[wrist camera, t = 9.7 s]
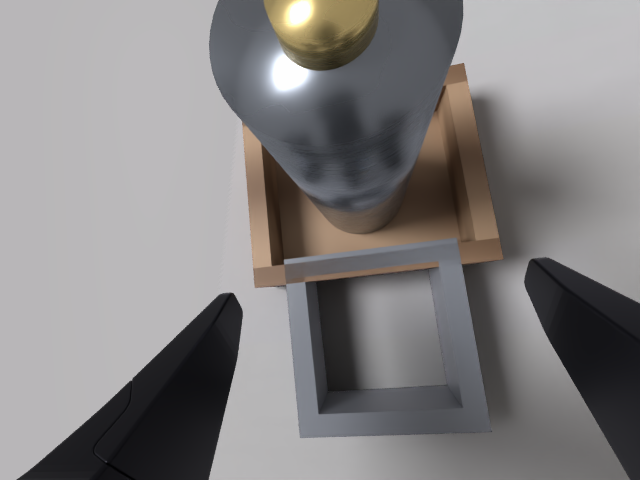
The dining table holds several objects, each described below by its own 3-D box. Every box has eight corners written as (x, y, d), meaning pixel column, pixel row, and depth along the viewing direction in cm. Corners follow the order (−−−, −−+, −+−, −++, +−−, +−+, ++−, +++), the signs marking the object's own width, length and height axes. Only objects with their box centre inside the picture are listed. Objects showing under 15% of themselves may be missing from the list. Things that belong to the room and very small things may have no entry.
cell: (362, 252, 17) (325, 186, 5) (301, 196, 18) (136, 21, 6) (422, 187, 17) (551, -63, 5) (356, 135, 18) (314, -186, 6)
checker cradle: (470, 404, 16) (492, 432, 13) (312, 411, 17) (299, 437, 14) (442, 244, 17) (456, 237, 14) (298, 263, 19) (283, 259, 16)
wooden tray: (481, 263, 17) (503, 259, 14) (273, 286, 19) (254, 287, 16) (449, 97, 18) (463, 63, 15) (260, 135, 20) (241, 110, 17)
